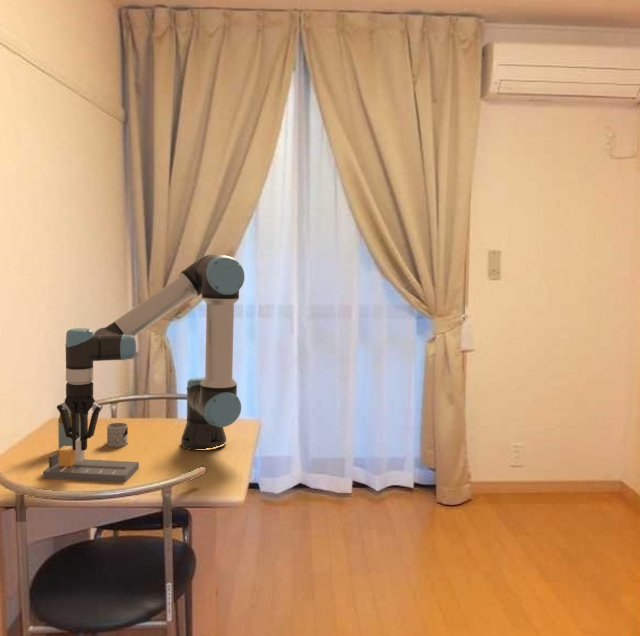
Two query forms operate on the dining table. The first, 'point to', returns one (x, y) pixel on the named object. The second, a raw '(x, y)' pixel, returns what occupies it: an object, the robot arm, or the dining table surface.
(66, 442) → the bottle
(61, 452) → the fader
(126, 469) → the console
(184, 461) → the dining table surface
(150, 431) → the dining table surface
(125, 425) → the mug
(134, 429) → the dining table surface
